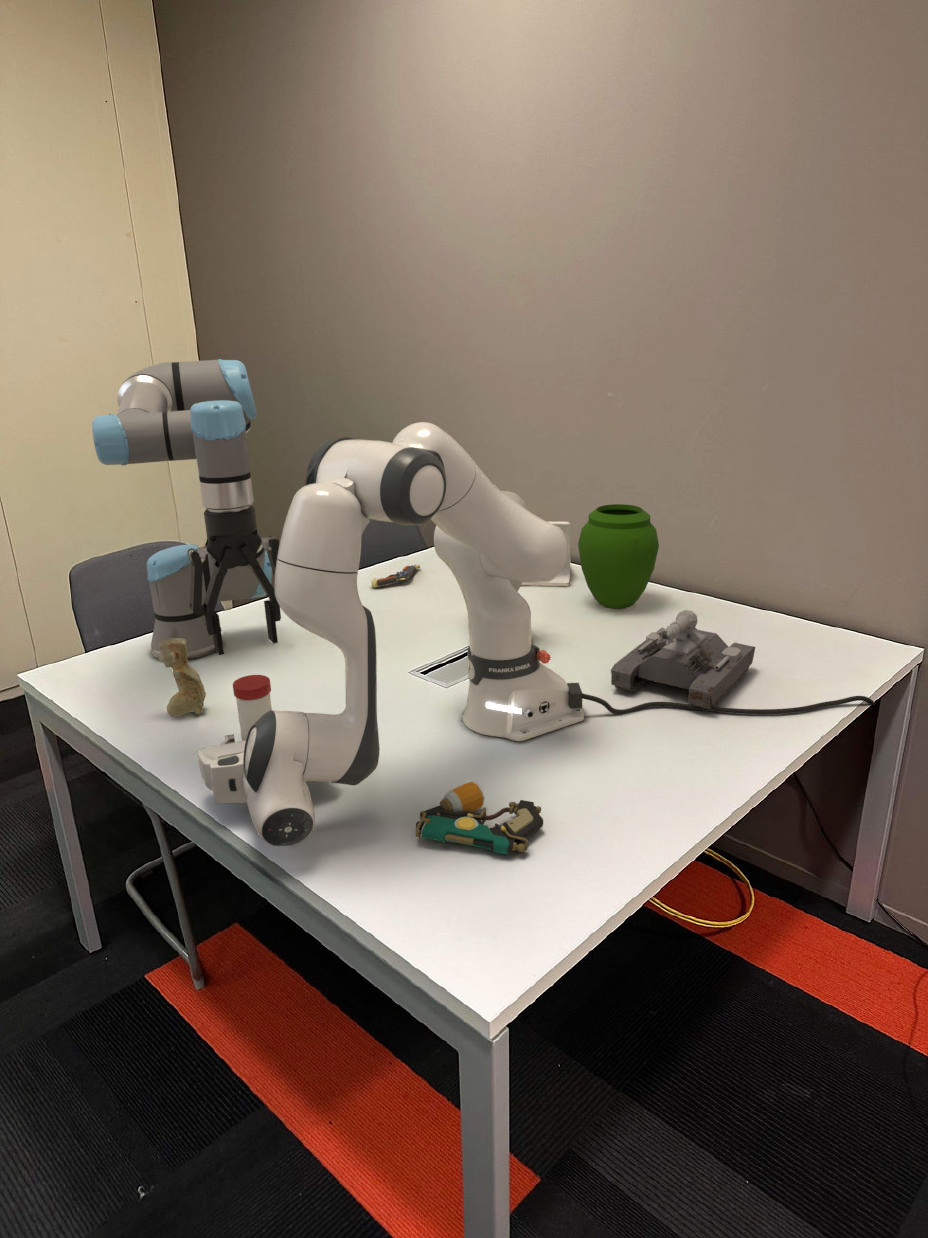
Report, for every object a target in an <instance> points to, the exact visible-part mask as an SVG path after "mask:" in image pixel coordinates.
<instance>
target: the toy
mask: <svg viewBox="0 0 928 1238" xmlns="http://www.w3.org/2000/svg"><path fill="white" fill-rule="evenodd" d="M697 625H698V616H697V614H696V613H695V612H694V611H693V610H690V609H683V610H681V611H679V612H678V613H677V615H676V617H675V620H673V622H671V623H670V624H669V625H668V626H666V628H665V627H661V628H660V629H658V630H657V631H652V632H650V633H649V634H648V635H647V636H645V640H643V641H642V642H641V643H640V644H638V645H637V646H636V647H635V648H633V649H632V650H631V651H630V652H628V653H627V654H625V655H624V656H623V657H621V658H620V659H619V660H618V661H617V662H615V663H614V664H613V666H612V667H611V669H610V674H611V677H610V678H611V680H610V681H611V682H610V683H611V684H610V685H611V686H614V688H615V689H619V690H623V691H626V692H630V693H634V692H635V691H637V690H638V689H640V687H641V686H643V685H644V684H645V683H646V682H648V681H651V682H653V683H658V684H663V685H667V686H671V687H675V688H679V689H684V690H688V699H687V700H688V701H687V704H691V705H695V706H699V707H702V708H705V709H708V710H711V709H712V706H714V707H716V706H717V705H718V704H719V703H720V701H721V700H723V698H724V697H725V696H726V695H727V694H728V693H729V692H730V691H731V690H732V689H733V688H734V687H735V686H736V685H737V684H738V682H739V681H740V680H741V679H742V678H743V677H745V675H746V674H747V673H748V671H749V669H750V667H751V665H752V664H753V662H754V657H755V652H756V646H754V645H748V644H743V643H738V642H733V643H732V644H731V645H730V646H729V645H728V644H727V643H726V642H725V641H724V640H723V639H722V637H721V636H720V635H718V634H717V632H711V631H706V630H702V629H698V628H696V626H697Z"/></svg>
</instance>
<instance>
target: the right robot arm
mask: <svg viewBox="0 0 928 1238" xmlns="http://www.w3.org/2000/svg"><path fill="white" fill-rule="evenodd" d="M495 485H496V484H494V483H493V482H492V481H491V480H490V479H489V477H488V476H487V475H486V474H485V473H484V471H483V470H482V469H481V468H480V467H479V466H478V464H477V463H476V462H475V460H474V459H473V457H471V456H470V454H469V453H468V452H467V450H465V448H464V447H462V445H461V444H460V443H459V442H458V441H457V440H456V439H454V438H453V437H452V436H451V435H450V434H448V433H447V432H446V431H445V430H443V429H442V428H441V427H439V426H437V424H434V423H432V422H427V421H419V422H415V423H411V424H408V425H407V426H406V427H404V428H402V430H400V431H399V432H398V433H397V434H396V435H395V437H394V438H393V440H392V442H389V441H384V440H374V439H356V438H352V437H347V436H346V437H345V436H344V437H336V438H331V439H328V440H325V441H324V442H322V443H321V444H320V445H319V446H318V447H317V448H316V450H315V451H314V452H313V454H312V455H311V458H310V460H309V462H308V466H307V470H306V475H305V480H304V486H302V487H301V488H299V489H298V490H297V491H296V493H295V494H294V495H293V497H292V500H291V503H290V506H289V508H288V510H287V511H288V512H287V514H286V517H285V520H284V524H283V528H282V531H281V535H280V540H279V550H278V556H277V562H276V569H275V578H274V590H275V597H276V600H277V602H278V604H279V606H280V610H281V611H282V613H284V614H285V616H287V617H288V619H290V620H291V621H292V622H294V623H295V624H296V625H298V626H299V627H301V628H303V629H305V630H306V631H309V632H310V633H312V634H314V635H316V636H317V637H320V638H322V639H323V640H326V641H327V642H330V643H331V644H332V645H335V646H336V647H337V648H338V649H339V650H340V651H341V653H342V655H343V659H344V673H345V674H344V675H345V676H344V680H345V681H344V682H345V688H344V689H345V707H344V710H343V711H342V712H340V713H337V714H336V713H335V714H332V713H318V712H317V713H316V712H304V711H297V710H295V711H294V710H273V709H272V710H270V711H269V712H267V713H265V714H264V715H263V716H261V717H260V718H259V719H258V720H257V721H256V722H255V724H254V725H253V726H252V727H251V728H250V730H249V732H248V735H247V739H246V740H244V741H242V740H240V741H239V740H238V741H236V738H235V735H234V733H233V734H226V735H224V740H223V741H222V742H221V743H220V744H217V745H213V746H208V747H203V748H201V749H200V750H198V752H197V761H198V766H199V772H200V776H201V779H202V780H203V783H204V785H205V786H206V788H207V789H208V790H210V791H212V794H213V797H214V800H215V802H216V803H219V804H235V803H236V804H247V808H248V809H247V810H248V812H249V816H250V819H251V822H252V824H253V826H254V828H255V830H256V832H257V834H258V835H259V837H260V838H261V839H262V840H263V841H264V842H265V843H267V844H269V845H271V846H273V847H291V846H294V845H297V844H299V843H301V842H303V841H304V840H306V839H307V838H308V837H309V836H310V835H311V833H312V832H313V830H314V828H315V822H316V821H315V820H316V819H315V809H314V803H313V799H312V795H311V792H310V789H309V786H308V784H307V782H327V783H328V782H330V783H331V784H339V785H347V786H357V785H360V784H361V783H362V782H363V781H365V780H366V779H367V778H369V776H371V775H372V774H373V773H374V772H375V770H376V769H377V768H378V765H379V760H380V749H381V748H380V736H379V725H378V724H379V723H378V710H377V709H378V699H377V697H378V691H377V690H378V687H377V686H378V685H377V684H378V683H377V682H378V680H377V675H378V674H377V672H378V670H377V667H378V665H377V664H378V663H377V635H376V624H375V621H374V617H373V614H372V611H371V610H370V609H368V608H367V607H366V606H365V605H363V603H362V601H361V598H360V595H359V590H358V589H359V588H358V575H359V568H360V563H361V562H360V561H361V554H362V553H361V551H362V536H363V533H364V532H365V529H366V528H367V526H368V524H369V523H371V520H372V521H379V522H385V523H386V522H387V523H394V524H396V525H399V526H418V525H422V524H423V525H424V524H425V523H427V522H428V521H432V522H433V523H434V524H435V527H434V530H433V540H432V541H433V542H432V543H433V548H434V551H435V554H436V555H437V557H438V559H440V560H441V561H442V562H443V563H444V564H445V565H446V566H447V568H448V569H449V570H450V572H451V574H452V575H453V576H454V577H455V578H454V579H455V580H456V582H457V584H458V586H459V589H460V591H461V593H462V596H463V597H462V598H463V599H464V603H465V606H466V611H467V623H468V636H469V646H468V648H467V659H466V670H467V677H468V680H469V681H468V690H467V691H468V693H467V698H466V705H465V709H464V712H463V715H462V722H463V724H464V725H465V726H466V727H467V728H468V729H470V730H471V731H473V732H475V733H478V734H481V735H485V736H490V737H498V738H505V739H507V740H511V741H515V742H523V741H526V740H529V739H532V738H534V737H538V736H542V735H544V734H548V733H551V732H553V731H556V730H559V729H562V728H565V727H568V726H571V725H574V724H577V723H580V722H583V721H584V720H585V710H584V708H583V699H584V700H586V701H591V702H594V703H597V704H600V705H601V706H603V707H604V708H605V709H606V710H607V711H608V712H609V713H610V714H614V715H626V714H632V713H635V712H638V711H642V710H644V709H647V708H652V707H653V708H654V707H667V708H669V707H670V708H678V709H679V708H680V709H687V710H695V711H706V712H707V711H708V712H717V713H727V714H738V715H739V714H740V715H742V714H743V715H781V714H793V713H803V712H807V711H808V712H809V711H813V710H817V709H823V708H827V707H833V706H834V707H835V706H839V705H845V704H848V703H851V702H857V701H859V702H860V701H861V702H864V703H867V704H868V705H869V706H876V702H875V701H874V700H873V699H871V698H870V697H869V696H865V695H854V696H853V695H852V696H848V697H845V698H841V699H836V700H835V699H834V700H828V701H822V702H818V703H814V704H808V705H803V706H796V707H787V708H786V707H785V708H764V709H763V708H762V709H761V708H759V709H758V708H734V707H724V706H715V707H714V706H712V709H711V710H708V709H705V708H702V707H699V706H695V705H691V704H688V703H684V702H675V701H650V702H645V703H640V704H638V705H635V706H632V707H629V708H625V709H619V708H614V707H613V706H611V705H610V704H609V703H608V701H606V700H605V699H603V698H601V697H599V696H595V695H591V694H587V693H583V691H582V688H581V685H580V683H579V682H567V680H565V679H564V678H563V677H562V675H560V673H559V674H558V673H557V672H556V671H554V670H553V669H552V668H550V667H548V666H547V665H546V664H548V663H550V661H551V658H552V657H551V654H550V653H548V652H547V651H546V650H544V649H541V648H540V647H539V646H538V645H535V644H533V643H532V611H531V607H530V605H529V603H528V601H527V599H525V597H523V596H522V595H521V594H520V592H519V591H518V592H517V591H516V590H515V589H514V587H513V586H512V584H511V582H510V580H513V581H518V582H525V583H538V582H550V581H552V580H554V579H555V578H556V577H557V576H558V575H559V574H560V573H561V571H562V570H563V568H564V566H565V564H566V562H567V558H568V543H567V539H566V537H565V534H564V533H563V531H562V530H561V529H560V528H559V527H557V526H555V525H553V524H551V523H549V522H550V521H547V520H545V519H543V518H541V517H539V516H537V515H536V514H534V513H532V512H531V511H530V510H529V509H528V508H527V509H528V510H527V509H525V508H524V507H523V506H521V505H520V504H518V503H517V502H516V501H514V500H513V499H511V498H510V497H509V496H507V495H506V494H504V493H503V492H502V491H503V490H500V489H499V487H498V486H497V485H496V486H497V487H498V488H497V487H496V486H495Z"/></svg>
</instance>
